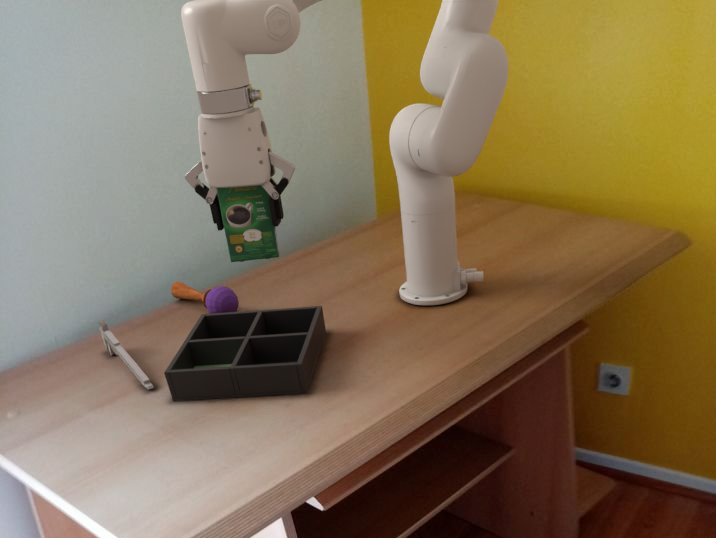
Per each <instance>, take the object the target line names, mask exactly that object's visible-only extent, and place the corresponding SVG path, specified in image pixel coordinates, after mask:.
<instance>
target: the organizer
mask: <svg viewBox="0 0 716 538" xmlns="http://www.w3.org/2000/svg"><path fill="white" fill-rule="evenodd" d="M326 336H327V328H326V322H325V316H324V311H323V305H312V306H300V307H299V306H298V307H297V306H296V307H285V308H272V309H271V308H270V309H258V310H256V309H255V310H242V311H237V312H227V313H213V314H210V313H202V314H201V315H200V316H199V317H198V319H197V321H196V323H195V324H194V325H193V327H192V328H191V330H190V332H189V333H188V335H187V336H186V337H185V339H184V341H183V342H182V344H181V345H180V347H179V349H178V350H177V352H176V353H175V355H174V357H173V358H172V359H171V361H170V363H169V364H168V366H167V367H166V368H165V371H164V373H163V374H164V378H165V380H166V383H167V386H168V390H169V393H170V395H171V400H172V402H180V401H198V400H199V401H200V400H201V401H202V400H217V399H233V398H235V399H237V398H252V397H253V398H254V397H273V396H289V395H291V396H292V395H305V394H308V391H309V389H310V385H311V383H312V379H313V377H314V376H313V375H314V372H315V370H316V366H317V364H318V360H319V357H320V354H321V350H322V348H323V344H324V341H325V337H326Z"/></svg>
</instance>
